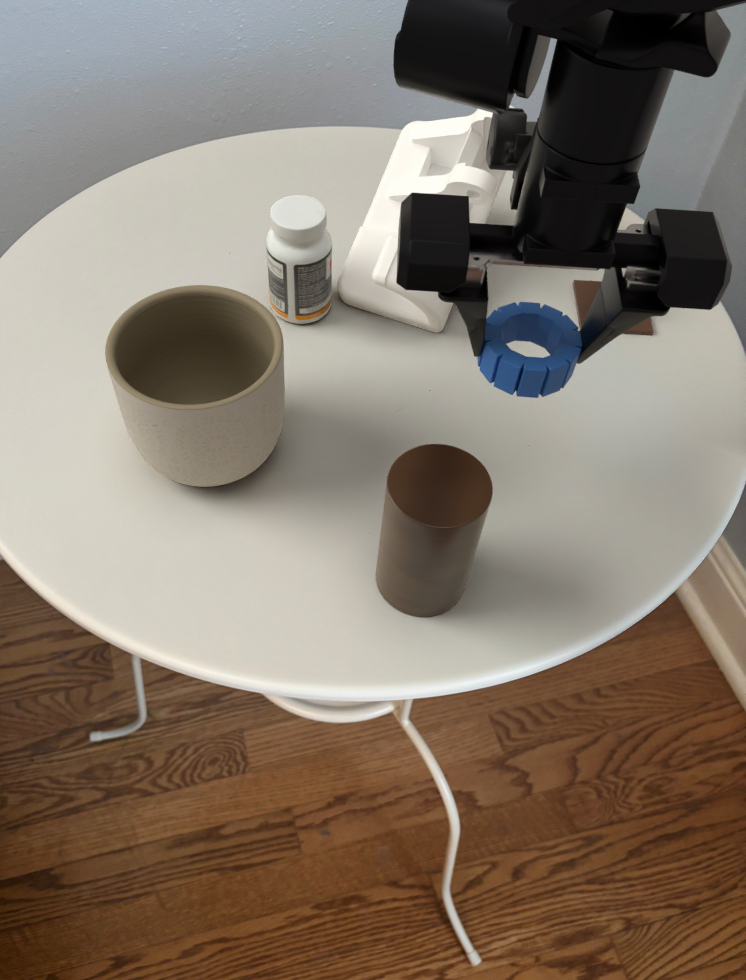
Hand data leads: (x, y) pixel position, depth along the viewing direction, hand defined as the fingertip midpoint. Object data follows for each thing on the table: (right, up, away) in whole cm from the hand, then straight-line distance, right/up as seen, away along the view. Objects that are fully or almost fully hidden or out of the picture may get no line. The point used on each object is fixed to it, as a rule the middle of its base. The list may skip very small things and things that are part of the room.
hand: (527, 355), depth 56 cm
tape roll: (0, 0, +1) cm, 1 cm away
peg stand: (+13, +9, +22) cm, 27 cm away
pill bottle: (-16, +9, +21) cm, 28 cm away
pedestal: (-7, -15, +5) cm, 17 cm away
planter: (-23, -5, +12) cm, 26 cm away
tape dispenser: (-5, +13, +25) cm, 28 cm away
